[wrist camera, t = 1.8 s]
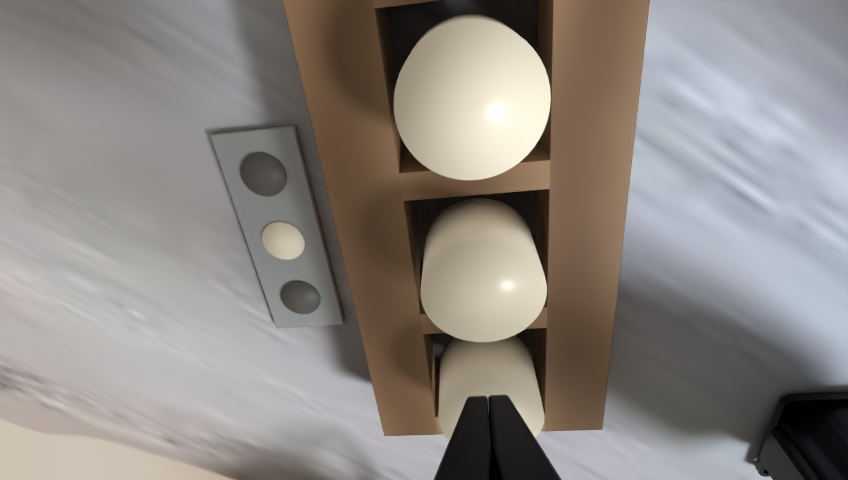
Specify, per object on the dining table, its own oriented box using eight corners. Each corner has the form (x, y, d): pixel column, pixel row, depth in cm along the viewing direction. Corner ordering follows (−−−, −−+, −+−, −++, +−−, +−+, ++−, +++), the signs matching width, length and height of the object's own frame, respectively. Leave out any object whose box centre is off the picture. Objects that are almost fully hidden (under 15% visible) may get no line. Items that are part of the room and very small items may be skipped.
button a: (532, 5, 14) (552, 11, 12) (532, 140, 17) (549, 173, 14) (395, 22, 15) (382, 32, 12) (412, 152, 17) (404, 186, 14)
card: (295, 125, 19) (292, 128, 19) (344, 320, 24) (342, 326, 24) (213, 133, 19) (209, 136, 19) (278, 324, 24) (276, 329, 24)
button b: (532, 193, 18) (547, 234, 15) (532, 287, 20) (545, 339, 17) (419, 203, 18) (413, 244, 15) (431, 293, 20) (427, 345, 17)
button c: (532, 325, 21) (545, 380, 18) (532, 393, 23) (543, 452, 20) (435, 330, 21) (433, 384, 18) (444, 397, 23) (443, 455, 20)
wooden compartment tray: (623, -71, 15) (658, -82, 13) (586, 383, 25) (602, 429, 23) (303, -27, 16) (275, -29, 14) (390, 391, 26) (384, 435, 24)
